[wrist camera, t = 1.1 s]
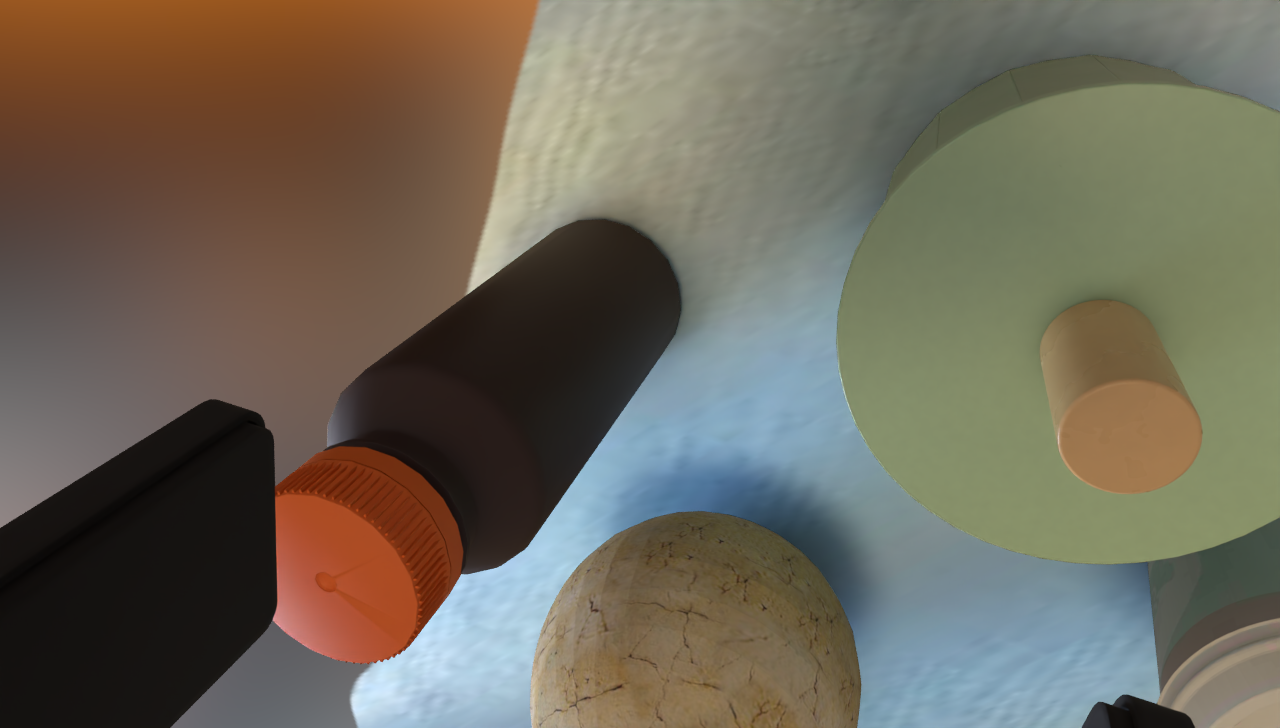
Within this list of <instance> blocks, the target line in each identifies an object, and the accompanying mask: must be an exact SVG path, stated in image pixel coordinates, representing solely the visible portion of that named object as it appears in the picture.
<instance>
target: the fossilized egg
mask: <svg viewBox="0 0 1280 728" xmlns="http://www.w3.org/2000/svg"><path fill="white" fill-rule="evenodd" d="M860 698H861V678H860V669H859V663H858V657H857V652H856V646H855V641H854V636H853V631H852V629H851V627H850V624H849V622H848V619H847V617H846V615H845V612H844V610H843V608H842V606H841V604H840V602H839V600H838V598H837V596H836V595H835V593H834V591H833V590H832V588H831V587H830V585H829V584H828V582H827V581H826V579H825V578H824V576H823V575H822V573H821V572H820V570H819V569H818V568H817V567H816V566H815V565H814V564H813V563H812V562H811V561H810V560H809V559H808V558H807V557H806V556H805V555H804V554H803V553H802V552H801V551H800V550H799V549H798V548H796V547H795V546H793V545H792V544H791V543H789V542H788V541H787V540H785V539H784V538H782V537H781V536H779V535H778V534H776V533H774V532H772V531H770V530H768V529H766V528H764V527H762V526H760V525H758V524H756V523H754V522H751V521H748V520H745V519H742V518H738V517H735V516H731V515H726V514H719V513H712V512H704V511H696V512H677V513H672V514H667V515H663V516H659V517H655V518H652V519H649V520H646V521H644V522H642V523H639V524H637V525H635V526H633V527H630V528H628V529H626V530H624V531H622V532H620V533H618V534H616V535H614V536H613V537H611V538H610V539H609V540H607V541H606V542H605V543H604V544H602V545H601V546H600V547H599V548H597V549H596V550H595V551H594V552H593V553H591V554H590V555H589V556H588V557H587V558H586V559H585V560H584V561H583V562H582V563H581V564H580V565H579V566H578V567H577V568H576V570H575V571H574V572H573V573H572V575H571V576H570V577H569V579H568V580H567V581H566V583H565V584H564V585H563V587H562V589H561V590H560V592H559V594H558V595H557V597H556V599H555V601H554V603H553V605H552V607H551V609H550V611H549V613H548V615H547V618H546V620H545V622H544V625H543V627H542V630H541V633H540V637H539V640H538V644H537V648H536V652H535V657H534V662H533V669H532V677H531V694H530V711H531V721H532V728H857V724H858V716H859V708H860Z"/></svg>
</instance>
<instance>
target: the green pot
mask: <svg viewBox="0 0 1280 728" xmlns="http://www.w3.org/2000/svg"><path fill="white" fill-rule="evenodd" d="M1114 81H1169V82H1177V83H1184V84H1192V85H1196V84H1194V83H1192V82H1191V81H1189V80H1187V79H1186V78H1184V77H1183V76H1181V75H1179V74H1178V73H1176V72H1175V71H1172V70H1169V69H1164V68H1159V67H1154V66H1149V65H1145V64H1141V63H1137V62H1133V61H1130V60H1122V59H1114V58H1108V57H1102V56H1097V55H1092V56H1091V55H1085V56H1080V57H1071V58H1063V59H1055V60H1048V61H1044V62H1040V63H1036V64H1032V65H1028V66H1024V67H1021V68H1016V69H1011V70H1009V71H1006V72H1004V73H1003V74H1001V75H999V76H997V77H995V78H993V79H991V80H989V81H987V82H986V83H984V84H982V85H980V86H978V87H976V88H974V89H973V90H971V91H970V92H968V93H967V94H965V95H964V96H962V97H961V98H959V99H958V100H956V101H955V102H954V103H952V104H951V105H950V106H948V107H946V108H945V109H943V110H941V113H938V114H937V116H936V117H935V118H934V119H933V121H932V122H931V123H930V124H929V125H928V127H927V128H926V129H925V130H924V131H923V132H922V133H921V134H920V136H919V137H918V138H917V139H916V140H915V142H914V143H913V145H912V146H911V148H910V149H909V151H908V152H907V154H906V155H905V156H904V158H903V159H902V160H901V161H900V163H899V164H898V165H897V167H896V168H895V171H894V172H893V174H892V178H891V181H890V185H889V188H888V192H887V195H886V199H887V197H888V196H889V195H890V194H891V192H892V191H893V190H894V189H895V188H896V187H897V186H898V185H899V184H900V183H901V181H902V180H903V179H904V178H905V177H906V176H907V175H908V174H909V173H910V172H911V170H912V169H914V168H915V167H916V166H917V165H918V164H919V163H921V162H922V161H923V160H924V159H925V158H926V157H928V156H929V155H930V154H931V153H932V152H933V151H935V150H936V149H937V148H938V147H939V146H941V145H942V144H944V143H945V142H947V141H948V140H950V139H951V138H953V137H954V136H956V135H957V134H959V133H960V132H962V131H963V130H965V129H966V128H968V127H969V126H971V125H973V124H975V123H977V122H979V121H981V120H983V119H985V118H987V117H989V116H990V115H992V114H994V113H996V112H998V111H1000V110H1002V109H1004V108H1007V107H1010V106H1012V105H1015V104H1018V103H1021V102H1023V101H1026V100H1029V99H1031V98H1034V97H1037V96H1040V95H1043V94H1047V93H1051V92H1055V91H1059V90H1063V89H1068V88H1072V87H1076V86H1080V85H1088V84H1096V83H1105V82H1114ZM886 199H885V200H886Z"/></svg>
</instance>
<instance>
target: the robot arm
mask: <svg viewBox="0 0 1280 728" xmlns="http://www.w3.org/2000/svg"><path fill="white" fill-rule="evenodd" d="M276 608H277V556H276V511H275V467H274V439H273V435H272V433H271V431H270V430H268V429H266V428H265V423H264V420H263V418H262V417H261V415H259V414H258V413H256V412H254V411H251V410H248V409H244V408H242V407H238V406H235V405H232V404H229V403H226V402H223V401H220V400H212V399H211V400H208V401H205V402H203V403H201V404H199V405H198V406H196V407H194V408H193V409H191V410H190V411H188V412H187V413H185V414H183V415H182V416H180V417H178V418H177V419H175V420H174V421H172V422H170V423H169V424H167V425H166V426H164V427H162V428H161V429H159V430H157V431H156V432H154V433H153V434H151V435H149V436H148V437H146V438H144V439H143V440H141V441H140V442H138V443H136V444H135V445H133V446H132V447H130V448H128V449H127V450H125V451H124V452H122V453H120V454H119V455H117V456H115V457H114V458H112V459H111V460H109V461H108V462H106V463H104V464H103V465H101V466H99V467H98V468H96V469H95V470H93V471H91V472H90V473H88V474H86V475H85V476H83V477H82V478H80V479H78V480H77V481H75V482H74V483H72V484H70V485H69V486H67V487H66V488H64V489H62V490H61V491H59V492H57V493H56V494H54V495H53V496H51V497H49V498H48V499H46V500H45V501H43V502H41V503H40V504H38V505H37V506H35V507H33V508H32V509H30V510H29V511H27V512H25V513H24V514H22V515H20V516H19V517H17V518H16V519H14V520H13V521H11V522H9V523H8V524H6V525H4V526H3V527H1V528H0V728H170V727H171V726H172V725H173V724H174V723H175V722H176V721H177V720H178V719H179V718H180V717H181V716H182V715H183V714H184V713H185V712H186V711H187V710H188V709H189V708H190V707H191V706H192V705H193V704H194V703H195V702H196V701H197V700H198V699H199V698H200V697H201V696H202V695H203V694H204V693H205V692H206V691H207V690H208V689H209V688H210V687H211V686H212V685H213V684H214V683H215V682H216V681H217V680H218V679H219V678H220V677H221V676H222V675H223V674H224V673H225V672H226V671H227V670H228V668H230V667H231V666H232V665H233V664H234V663H235V661H237V660H238V659H239V658H240V657H241V656H242V654H243V653H245V652H246V650H247V649H249V648H250V646H251V645H252V644H253V643H254V642H255V641H256V640H257V639H258V638H259V637H260V636H261V635H262V634H263V633H264V632H265V631H266V630H267V628H268V627H269V625H270V623H271V622H272V620H273V617H274V615H275V612H276ZM1082 728H1195V726H1194V724H1193V722H1192V720H1191V718H1190V717H1189V716H1188V715H1187V714H1185V713H1183V712H1180V711H1177V710H1173V709H1170V708H1167V707H1164V706H1161V705H1158V704H1155V703H1152V702H1149V701H1146V700H1143V699H1140V698H1136V697H1133V696H1130V695H1122V696H1120V697H1119V698H1118V699H1117V700H1116V701H1115V703H1114V704H1113V705H1110V704H1107V703H1104V702H1098V703H1097V704H1095V705H1094V707H1093V708H1092V710H1091V711H1090V713H1089V715H1088V717H1087V719H1086V721H1085V723H1084V724H1083V726H1082Z"/></svg>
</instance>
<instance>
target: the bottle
mask: <svg viewBox="0 0 1280 728" xmlns="http://www.w3.org/2000/svg"><path fill="white" fill-rule="evenodd" d="M680 311H681V308H680V298H679V289H678V283H677V281H676V278H675V276H674V274H673V271H672V269H671V267H670V265H669V262H668V260H667V259H666V258H665V257H664V256H663V254H662V253H661V252H660V251H659V250H658V249H657V247H656V246H655V245H654V244H653V243H652V241H651V240H649V239H647V238H646V237H644V236H643V235H641V234H640V233H638V232H637V231H635V230H634V229H632V228H631V227H629V226H625V225H622V224H618V223H615V222H611V221H608V220H581V221H576V222H573V223H571V224H568V225H566V226H563V227H561V228H558V229H556V230H555V231H553V232H552V233H551V234H549V235H548V236H547V237H545V238H544V239H542V240H541V241H540V242H538V243H537V244H536V245H534V246H533V247H532V248H530V249H529V250H528V251H526V252H525V253H523V254H522V255H521V256H519V257H518V258H517V259H515V260H514V261H513V262H511V263H510V264H509V265H507V266H506V267H504V268H503V269H502V270H500V271H499V272H498V273H496V274H495V275H494V276H492V277H491V278H490V279H488V280H487V281H485V282H484V283H483V284H481V285H480V286H479V287H477V288H476V289H475V290H473V291H472V292H471V293H469V294H468V295H466V296H465V297H464V298H462V299H461V300H460V301H458V302H457V303H456V304H454V305H453V306H451V307H450V308H449V309H448V310H446V311H445V312H443V313H442V314H441V315H439V316H438V317H437V318H435V319H434V320H432V321H431V322H430V323H428V324H427V325H426V326H424V327H423V328H422V329H420V330H419V331H418V332H416V333H415V334H414V335H412V336H411V337H409V338H408V339H407V340H405V341H404V342H403V343H401V344H400V345H399V346H397V347H396V348H394V349H393V350H392V351H390V352H389V353H388V354H386V355H385V356H384V357H382V358H381V359H380V360H378V361H377V362H376V363H374V364H373V365H371V366H370V367H369V368H367V369H366V370H365V371H364V372H363V373H362V374H361V375H360V376H359V377H357V378H356V379H355V380H354V381H353V382H352V383H351V384H350V385H349V386H348V387H347V388H346V389H345V390H344V391H343V392H342V393H341V395H340V397H339V399H338V402H337V404H336V406H335V409H334V411H333V413H332V416H331V418H330V421H329V423H328V434H327V448H326V449H325V450H324V451H323V452H320V453H317V454H315V455H314V456H313V457H312V458H311V459H309V460H308V461H307V462H306V463H304V464H303V465H302V466H301V467H299V468H298V469H297V470H296V471H295V472H293V473H292V474H290V475H289V476H288V477H287V478H285V479H284V480H283V481H282V482H280V483H279V484H278V485H277V486H276V487H275V511H276V556H277V608H276V612H275V615H274V617H273V620H274V622H276V623H277V624H278V625H279V626H280V628H282V630H283V631H285V633H287V634H288V635H290V636H291V637H293V638H294V639H296V640H297V641H299V642H300V643H301V644H303V645H305V646H306V647H308V648H309V649H311V650H313V651H315V652H318V653H321V654H323V655H326V656H328V657H330V658H333V659H336V660H338V661H340V660H342V661H346V662H348V661H349V662H353V663H355V662H357V663H360V664H362V663H367V664H369V663H370V662H374V663H376V662H377V661H378V660H380V661H381V662H383V660H384V659H387V660H389V659H390V658H391V656H392V657H393V658H394V657H395V656H396V655H397V654H399V655H400V653H401V652H402V651H405V650H406V648H407V647H409V646H410V645H411V643H412V642H413V641H414V640H415V638H416V637H417V636H418V634H419V633H420V632H421V630H422V629H423V628H424V626H425V625H426V624H427V623H428V621H429V620H430V619H431V617H432V616H433V615H434V614H435V612H436V611H437V610H438V608H439V607H440V606H441V605H442V603H443V602H444V601H445V599H446V598H447V597H448V595H449V594H450V592H451V591H452V589H453V587H454V586H455V584H456V582H457V580H458V579H459V577H460V575H461V574H471V573H475V572H480V571H484V570H489V569H493V568H497V567H499V566H501V565H503V564H504V563H506V562H507V561H508V560H510V559H511V558H513V557H514V556H516V555H517V554H519V553H520V552H522V551H523V550H525V549H526V548H527V547H528V545H529V544H530V542H531V541H532V540H533V538H534V537H535V535H536V534H537V532H538V531H539V530H540V528H541V527H542V525H543V524H544V522H545V521H546V520H547V518H548V517H549V515H550V514H551V512H552V511H553V510H554V508H555V507H556V505H557V504H558V502H559V501H560V500H561V498H562V497H563V495H564V494H565V492H566V491H567V490H568V488H569V487H570V485H571V484H572V482H573V481H574V479H575V478H576V477H577V475H578V474H579V472H580V471H581V469H582V468H583V467H584V465H585V464H586V462H587V461H588V459H589V458H590V457H591V455H592V454H593V452H594V451H595V449H596V448H597V447H598V445H599V444H600V442H601V441H602V439H603V438H604V437H605V435H606V434H607V432H608V431H609V429H610V428H611V427H612V425H613V424H614V422H615V421H616V419H617V418H618V417H619V415H620V414H621V412H622V411H623V409H624V408H625V407H626V405H627V404H628V402H629V401H630V399H631V398H632V397H633V395H634V394H635V392H636V391H637V389H638V388H639V387H640V385H641V384H642V382H643V381H644V379H645V378H646V377H647V375H648V374H649V372H650V371H651V369H652V368H653V367H654V365H655V364H656V362H657V361H658V359H659V358H660V357H661V355H662V354H663V352H664V351H665V349H666V348H667V346H668V344H669V343H670V341H671V340H672V338H673V337H674V335H675V333H676V329H677V324H678V320H679V315H680Z"/></svg>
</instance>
